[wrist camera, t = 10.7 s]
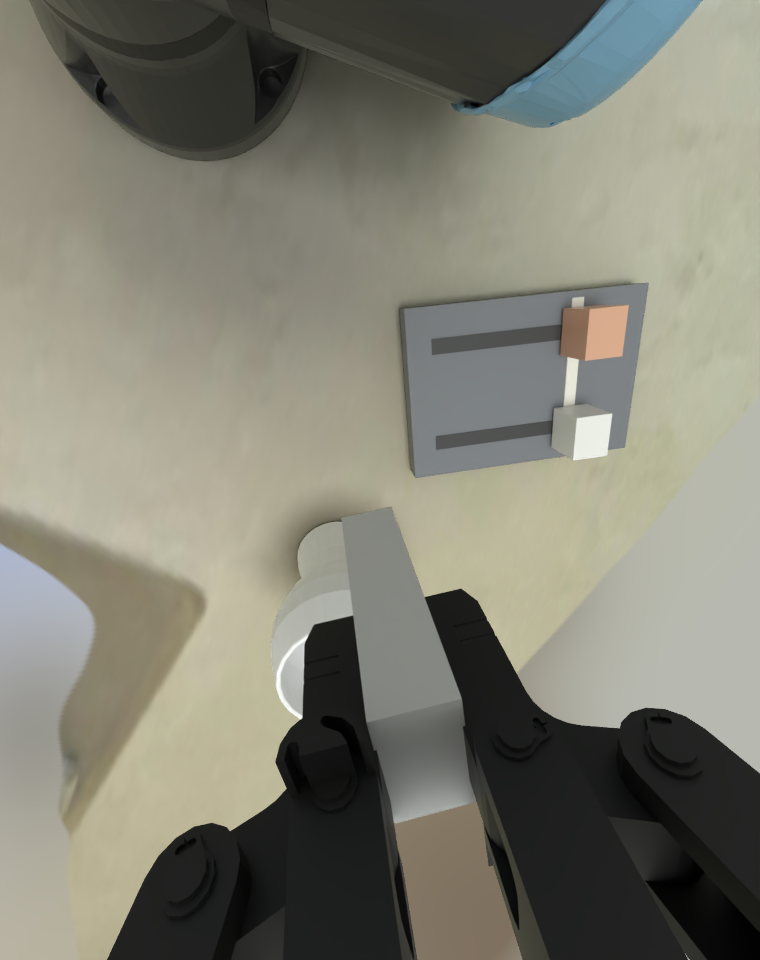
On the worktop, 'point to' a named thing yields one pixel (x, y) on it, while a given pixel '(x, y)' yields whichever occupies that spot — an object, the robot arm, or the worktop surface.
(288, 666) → the cup
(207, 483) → the worktop surface
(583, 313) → the fader front
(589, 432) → the block
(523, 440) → the console
